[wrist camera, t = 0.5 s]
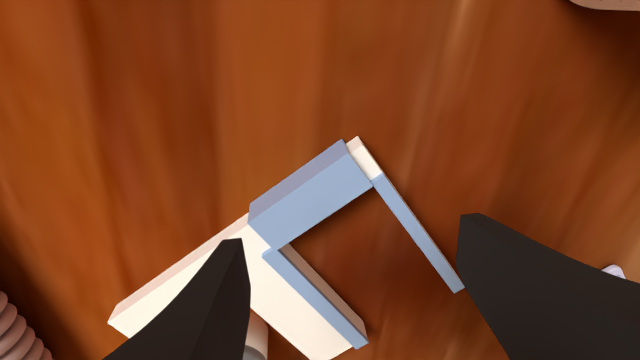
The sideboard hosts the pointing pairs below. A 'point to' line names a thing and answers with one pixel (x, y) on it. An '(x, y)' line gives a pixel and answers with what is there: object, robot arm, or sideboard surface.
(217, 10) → the sideboard surface
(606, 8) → the teacup with lid
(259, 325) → the banded white cylinder
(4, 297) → the coil
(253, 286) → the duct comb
